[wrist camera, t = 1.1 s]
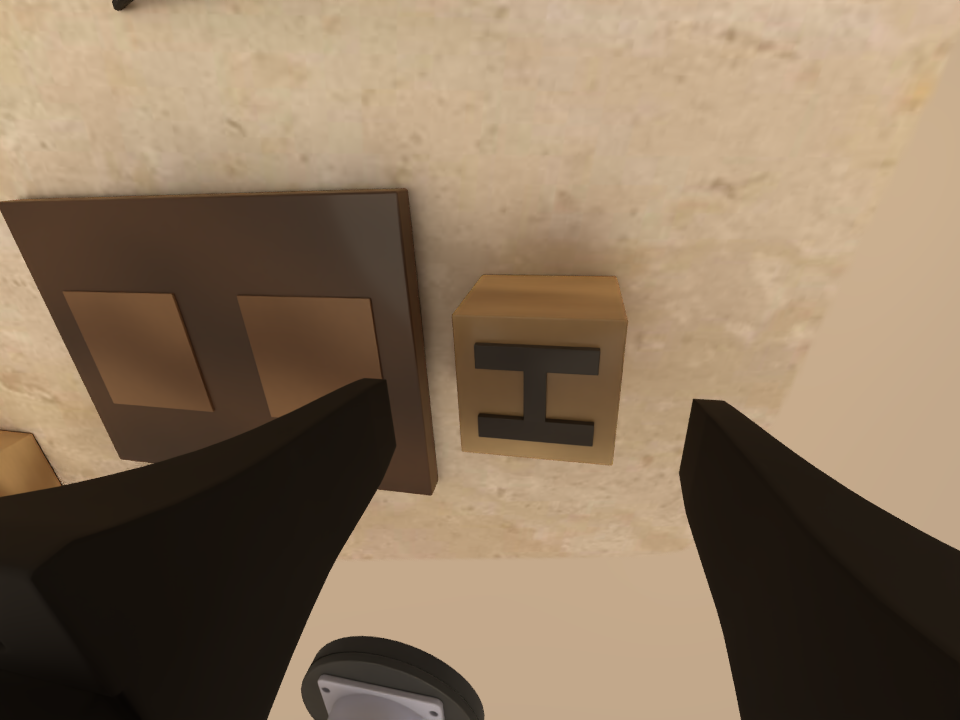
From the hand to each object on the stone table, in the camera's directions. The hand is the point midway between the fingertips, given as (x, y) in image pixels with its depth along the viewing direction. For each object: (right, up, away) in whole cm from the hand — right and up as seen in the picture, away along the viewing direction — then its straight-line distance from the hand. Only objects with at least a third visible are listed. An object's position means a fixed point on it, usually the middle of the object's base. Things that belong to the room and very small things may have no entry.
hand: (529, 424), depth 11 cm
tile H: (+1, +2, +5) cm, 6 cm away
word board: (-11, +2, +8) cm, 14 cm away
